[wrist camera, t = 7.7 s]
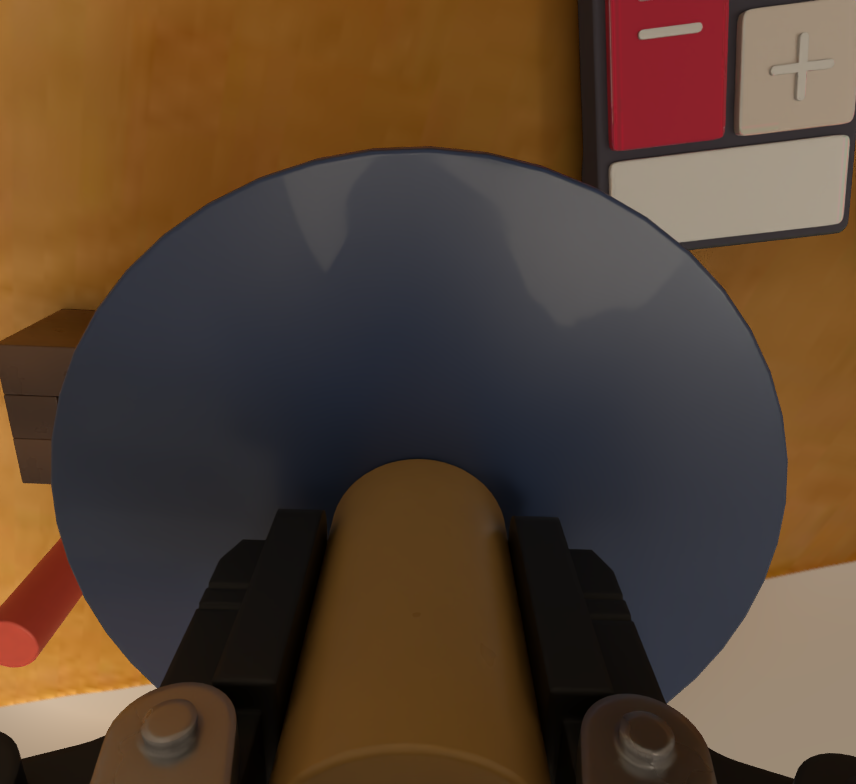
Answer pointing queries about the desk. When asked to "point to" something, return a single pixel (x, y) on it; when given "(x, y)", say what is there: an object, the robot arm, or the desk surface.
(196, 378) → the tin lid
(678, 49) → the calculator
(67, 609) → the straw
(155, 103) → the desk surface
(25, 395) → the straw holder
